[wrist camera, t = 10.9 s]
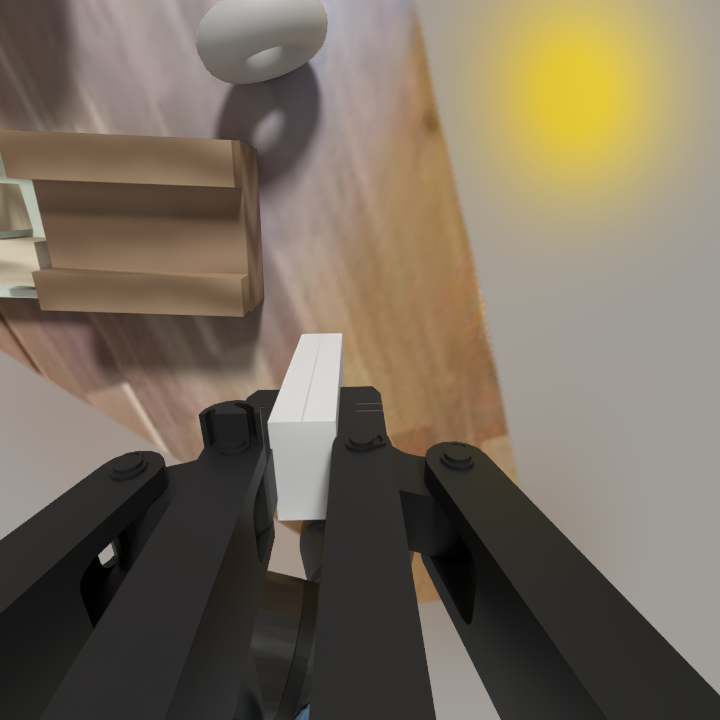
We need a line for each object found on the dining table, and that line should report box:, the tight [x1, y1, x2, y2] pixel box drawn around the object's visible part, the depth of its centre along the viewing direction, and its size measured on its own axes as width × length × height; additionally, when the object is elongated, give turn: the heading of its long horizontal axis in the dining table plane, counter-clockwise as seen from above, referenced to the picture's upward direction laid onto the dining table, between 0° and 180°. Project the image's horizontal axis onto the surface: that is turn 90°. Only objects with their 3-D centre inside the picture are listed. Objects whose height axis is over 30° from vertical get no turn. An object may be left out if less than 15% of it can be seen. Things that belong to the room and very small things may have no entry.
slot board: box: [0, 130, 264, 317], centre depth 36 cm, size 14×17×8 cm
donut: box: [196, 0, 328, 84], centre depth 30 cm, size 10×4×10 cm, turn 107°
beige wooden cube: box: [0, 236, 52, 287], centre depth 38 cm, size 4×4×4 cm
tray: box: [0, 153, 45, 298], centre depth 38 cm, size 14×12×3 cm
